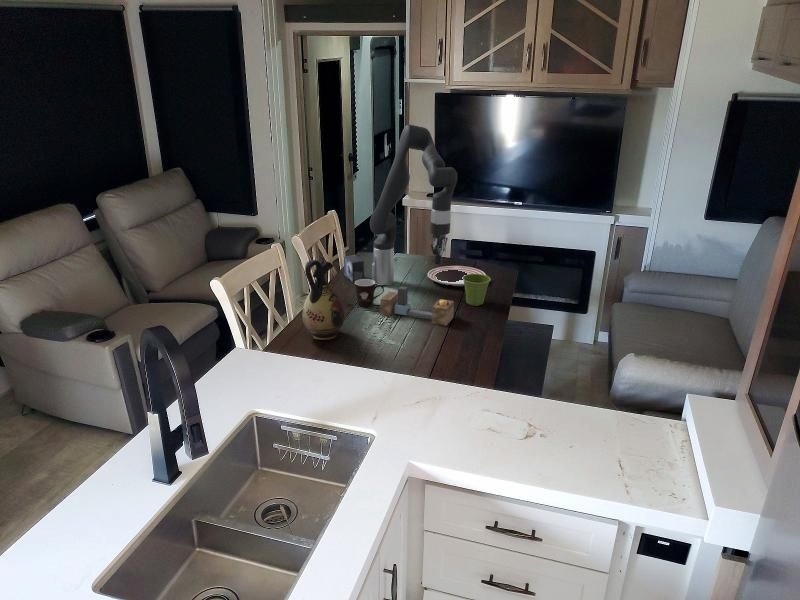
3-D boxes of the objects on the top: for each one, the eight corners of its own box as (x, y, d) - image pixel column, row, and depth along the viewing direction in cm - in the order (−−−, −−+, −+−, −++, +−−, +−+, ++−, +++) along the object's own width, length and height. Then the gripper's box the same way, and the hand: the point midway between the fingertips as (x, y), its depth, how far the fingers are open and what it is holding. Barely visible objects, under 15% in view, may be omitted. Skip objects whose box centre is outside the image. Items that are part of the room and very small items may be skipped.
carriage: (394, 313, 238) (394, 289, 235) (399, 308, 243) (399, 285, 239) (406, 315, 237) (406, 290, 233) (410, 310, 241) (410, 286, 237)
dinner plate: (417, 275, 285) (417, 268, 284) (466, 268, 296) (466, 261, 294) (445, 294, 262) (445, 287, 260) (496, 285, 272) (497, 278, 271)
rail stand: (380, 314, 239) (380, 298, 236) (389, 307, 247) (389, 291, 244) (446, 325, 229) (447, 309, 226) (453, 317, 237) (453, 301, 234)
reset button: (438, 310, 231) (438, 301, 230) (440, 307, 234) (440, 299, 233) (445, 311, 230) (445, 303, 229) (447, 308, 233) (448, 300, 232)
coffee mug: (351, 306, 247) (350, 283, 244) (361, 299, 254) (361, 277, 251) (375, 311, 242) (374, 288, 239) (385, 304, 249) (385, 282, 246)
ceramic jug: (324, 323, 231) (321, 250, 220) (353, 334, 222) (351, 258, 211) (291, 337, 219) (286, 260, 208) (320, 349, 210) (316, 269, 198)
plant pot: (467, 309, 245) (468, 284, 240) (457, 299, 255) (458, 274, 251) (493, 306, 248) (495, 281, 243) (482, 296, 258) (484, 272, 254)
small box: (343, 277, 282) (342, 256, 278) (355, 275, 284) (355, 254, 281) (352, 283, 273) (351, 262, 269) (365, 281, 276) (364, 260, 272)
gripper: (437, 215, 231) (435, 257, 237) (425, 223, 219) (423, 267, 226) (455, 217, 228) (452, 260, 235) (444, 226, 217) (441, 270, 223)
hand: (438, 263), depth 230 cm, fingers closed
